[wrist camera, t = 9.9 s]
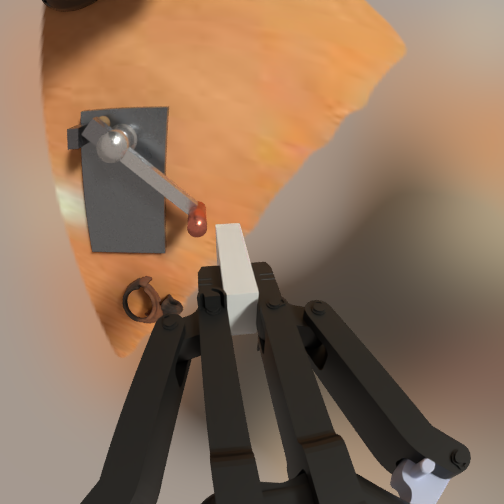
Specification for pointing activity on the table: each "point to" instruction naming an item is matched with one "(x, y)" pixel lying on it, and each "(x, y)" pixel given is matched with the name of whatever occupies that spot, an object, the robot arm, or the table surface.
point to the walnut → (105, 120)
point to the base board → (124, 183)
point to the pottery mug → (157, 311)
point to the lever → (144, 170)
